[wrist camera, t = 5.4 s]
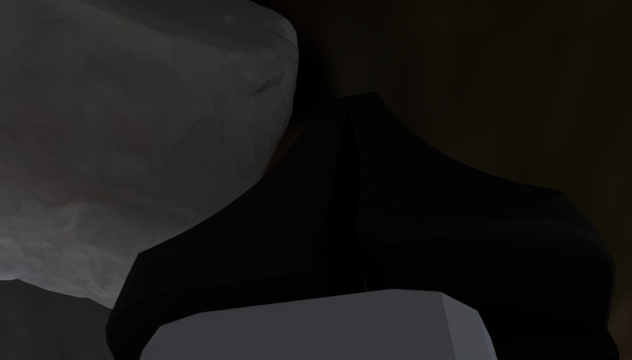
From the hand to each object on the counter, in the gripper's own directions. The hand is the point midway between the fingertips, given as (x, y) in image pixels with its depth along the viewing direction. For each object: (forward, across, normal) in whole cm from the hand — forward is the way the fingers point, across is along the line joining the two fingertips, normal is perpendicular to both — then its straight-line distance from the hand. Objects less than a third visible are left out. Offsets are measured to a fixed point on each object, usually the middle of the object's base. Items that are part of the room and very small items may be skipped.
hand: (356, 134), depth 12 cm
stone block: (+2, +8, -1) cm, 8 cm away
